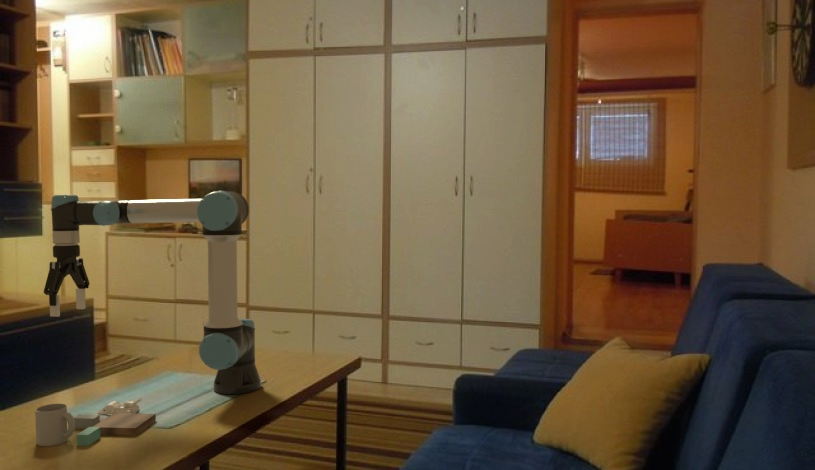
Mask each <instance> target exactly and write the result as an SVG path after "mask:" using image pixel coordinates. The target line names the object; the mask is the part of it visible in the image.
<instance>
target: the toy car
mask: <svg viewBox="0 0 815 470" xmlns="http://www.w3.org/2000/svg"><path fill="white" fill-rule="evenodd" d="M142 399H143V398H142V397H139V398H137V399H136V400H133V401H132V400H131V399H128V400H126V401H125V402H124V403H120V401H118V400H114V401H111V402H109V403H107V405H105V406H104V407H103V408H101V409H100V410H98V411H97V414H114V413H135V412H136V413H138V412H139V411H138V410H140V406H139V404H138V403H140V402H141V401H142ZM104 410H105V411H104ZM137 411H138V412H137ZM97 414H96V415H97Z"/></svg>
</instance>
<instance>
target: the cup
mask: <svg viewBox="0 0 815 470" xmlns="http://www.w3.org/2000/svg"><path fill="white" fill-rule="evenodd" d="M67 409H68V405H67V404H65V403H50V404H48V403H47V404H45V405H41V406H39V407H36V408H35V409H34V411H35V415H34V416H35V438H36V439H35V440H36V444H37V446H39V447H53V446H58V445H61V444H65V442H66V441H67V439H68V438H71V437H72V436H73V435H74V432H75V430H76V428H75V420H74V416H73V415H72V414H71V412H67V411H68V410H67Z"/></svg>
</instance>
